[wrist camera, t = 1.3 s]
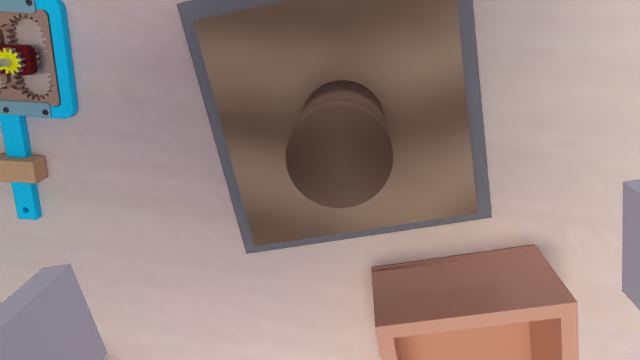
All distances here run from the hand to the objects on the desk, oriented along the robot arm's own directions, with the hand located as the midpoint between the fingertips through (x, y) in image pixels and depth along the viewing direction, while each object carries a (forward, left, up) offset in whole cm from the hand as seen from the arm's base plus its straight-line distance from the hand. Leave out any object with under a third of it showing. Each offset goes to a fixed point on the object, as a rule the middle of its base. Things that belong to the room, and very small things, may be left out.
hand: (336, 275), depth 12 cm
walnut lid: (0, 0, -17) cm, 17 cm away
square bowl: (+15, +5, -17) cm, 23 cm away
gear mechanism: (-7, -19, -18) cm, 27 cm away
